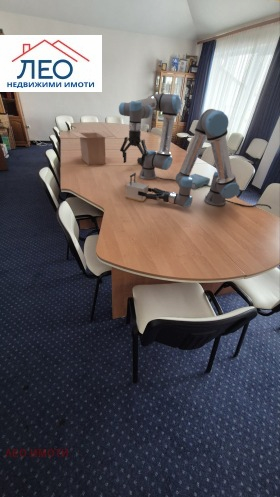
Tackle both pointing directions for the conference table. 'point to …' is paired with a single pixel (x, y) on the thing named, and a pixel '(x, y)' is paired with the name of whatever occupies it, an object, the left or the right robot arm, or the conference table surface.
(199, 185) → the book
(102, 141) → the box
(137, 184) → the lid
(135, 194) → the chest
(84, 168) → the conference table surface
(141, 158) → the laser sight
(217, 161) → the right robot arm
